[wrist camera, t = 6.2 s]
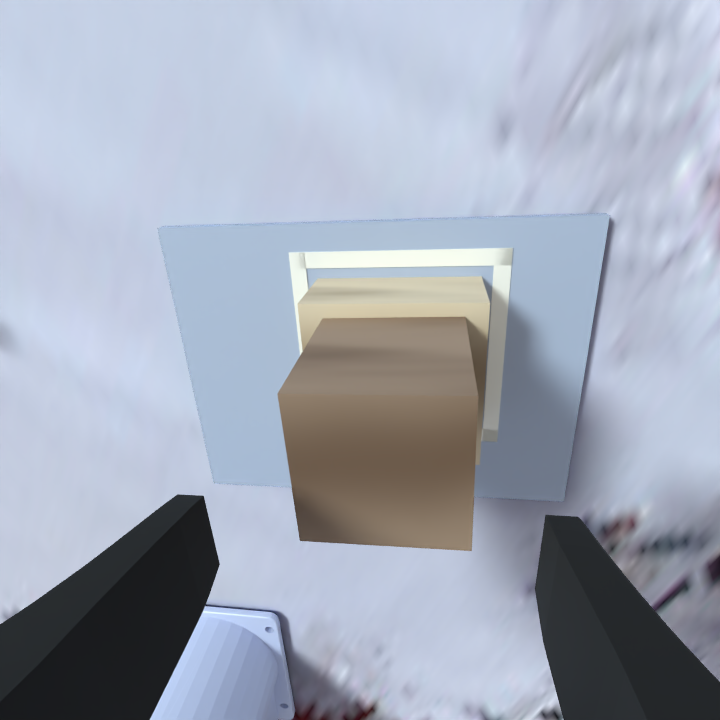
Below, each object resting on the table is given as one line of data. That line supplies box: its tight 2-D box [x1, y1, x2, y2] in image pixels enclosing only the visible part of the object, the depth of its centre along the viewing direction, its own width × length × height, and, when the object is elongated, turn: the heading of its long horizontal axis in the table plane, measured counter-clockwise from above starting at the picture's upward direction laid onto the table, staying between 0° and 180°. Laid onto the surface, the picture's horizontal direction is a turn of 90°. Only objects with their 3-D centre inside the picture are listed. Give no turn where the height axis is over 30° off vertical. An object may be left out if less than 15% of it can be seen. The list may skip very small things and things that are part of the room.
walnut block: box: [277, 317, 478, 551], centre depth 14 cm, size 4×4×5 cm
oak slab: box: [297, 276, 490, 465], centre depth 18 cm, size 6×6×3 cm
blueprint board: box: [157, 213, 610, 502], centre depth 20 cm, size 12×16×1 cm
